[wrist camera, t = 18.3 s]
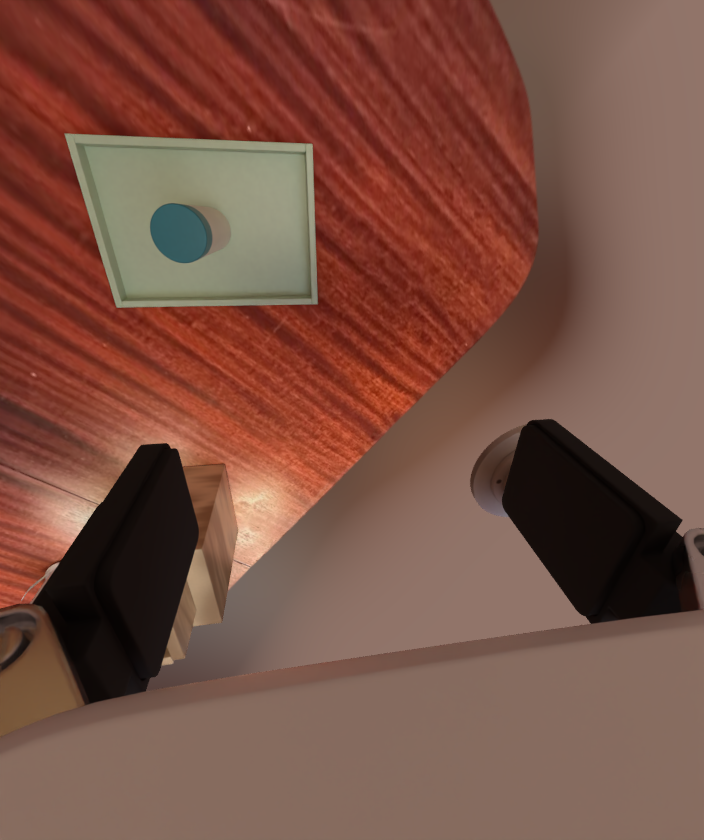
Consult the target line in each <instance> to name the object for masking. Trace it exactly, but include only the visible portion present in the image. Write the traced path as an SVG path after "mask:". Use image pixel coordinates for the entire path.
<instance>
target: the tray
mask: <svg viewBox="0 0 704 840" xmlns="http://www.w3.org/2000/svg"><path fill="white" fill-rule="evenodd" d="M65 137H66V140H67V144H68V147H69V150H70V154H71V157H72V160H73V164H74V167H75V170H76V174H77V177H78V180H79V184H80V187H81V190H82V194H83V197H84V200H85V204H86V207H87V210H88V214H89V217H90V220H91V224H92V227H93V230H94V234H95V237H96V240H97V244H98V247H99V250H100V254H101V257H102V261H103V264H104V267H105V271H106V274H107V277H108V281H109V284H110V287H111V291H112V294H113V297H114V301H115V304H116V307H117V308H120V307H181V306H241V305H302V304H318V296H317V266H316V235H315V204H314V173H313V145H312V144H305V143H282V142H258V141H233V140H209V139H185V138H160V137H136V136H112V135H87V134H65ZM169 203H176V204H186V205H195V206H204V207H211V208H214V209H217V210H218V211H220V212H221V213H222V214H223V215H224V216H225V217H226V219H227V220H228V222H229V225H230V229H231V237H230V240H229V242H228V244H227V245H226V246H225V247H224V248H222V249H220V250H218V251H216V252H214V253H212V254H209V255H207V256H205V257H203V258H201V259H199V260H196V261H194V262H191V263H178V262H175V261H172V260H170V259H169V258H167V257H166V256H164V255H163V254H162V253H161V252H160V251H159V250H158V248H157V247H156V245H155V244H154V242H153V239H152V237H151V232H150V221H151V218H152V215H153V214H154V212H155V211H156V210H157V209H158V208H159V207H161V206H162V205H165V204H169Z"/></svg>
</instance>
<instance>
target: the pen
mask: <svg viewBox="0 0 704 840" xmlns="http://www.w3.org/2000/svg"><path fill="white" fill-rule="evenodd" d="M150 232H151V237H152V239H153V242H154V244H155V245H156V247H157V248H158V250H159V251H160V252H161V253H162V254H163V255H164V256H166V257H167V258H169V259H170V260H172V261H175V262H178V263H191V262H194V261H196V260H199V259H201V258H203V257H205V256H207V255H209V254H212V253H214V252H216V251H218V250H220V249H222V248H224V247H225V246H226V245H227V244H228V242H229V240H230V237H231V229H230V225H229V222H228V220H227V219H226V217H225V216H224V215H223V214H222V213H221V212H220V211H218V210H217V209H214V208H211V207H204V206H195V205H186V204H176V203H169V204H165V205H162V206H161V207H159V208H158V209H157V210H156V211H155V212H154V214H153V215H152V218H151V221H150Z"/></svg>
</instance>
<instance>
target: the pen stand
mask: <svg viewBox="0 0 704 840" xmlns="http://www.w3.org/2000/svg"><path fill="white" fill-rule="evenodd" d="M183 470H184V474H185V478H186V482H187V485H188V489H189V493H190V496H191V500H192V504H193V508H194V511H195V515H196V519H197V522H198V527H199V538H198V542H197V546H196V549H195V552H194V556H193V559H192V563H191V566H190V570H189V573H188V576H187V580H186V583H185V587H184V590H183V593H182V597H181V600H180V604H179V607H178V610H177V614H176V617H175V621H174V624H173V627H172V631H171V634H170V638H169V641H168V645H167V648H166V651H165V655H164V658H163V662H162V665H167V664H173V663H174V660H177V659H184V658H185V656H186V652H187V647H188V644H189V640H190V635H191V631H192V627H193V626H199V625H207V624H215V623H222V620H223V614H224V608H225V602H226V597H227V591H228V586H229V580H230V574H231V568H232V563H233V557H234V551H235V545H236V540H237V534H238V527H237V522H236V517H235V512H234V507H233V502H232V496H231V491H230V486H229V481H228V476H227V471H226V466H225V464H218V465H204V466H190V467H183Z"/></svg>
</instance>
